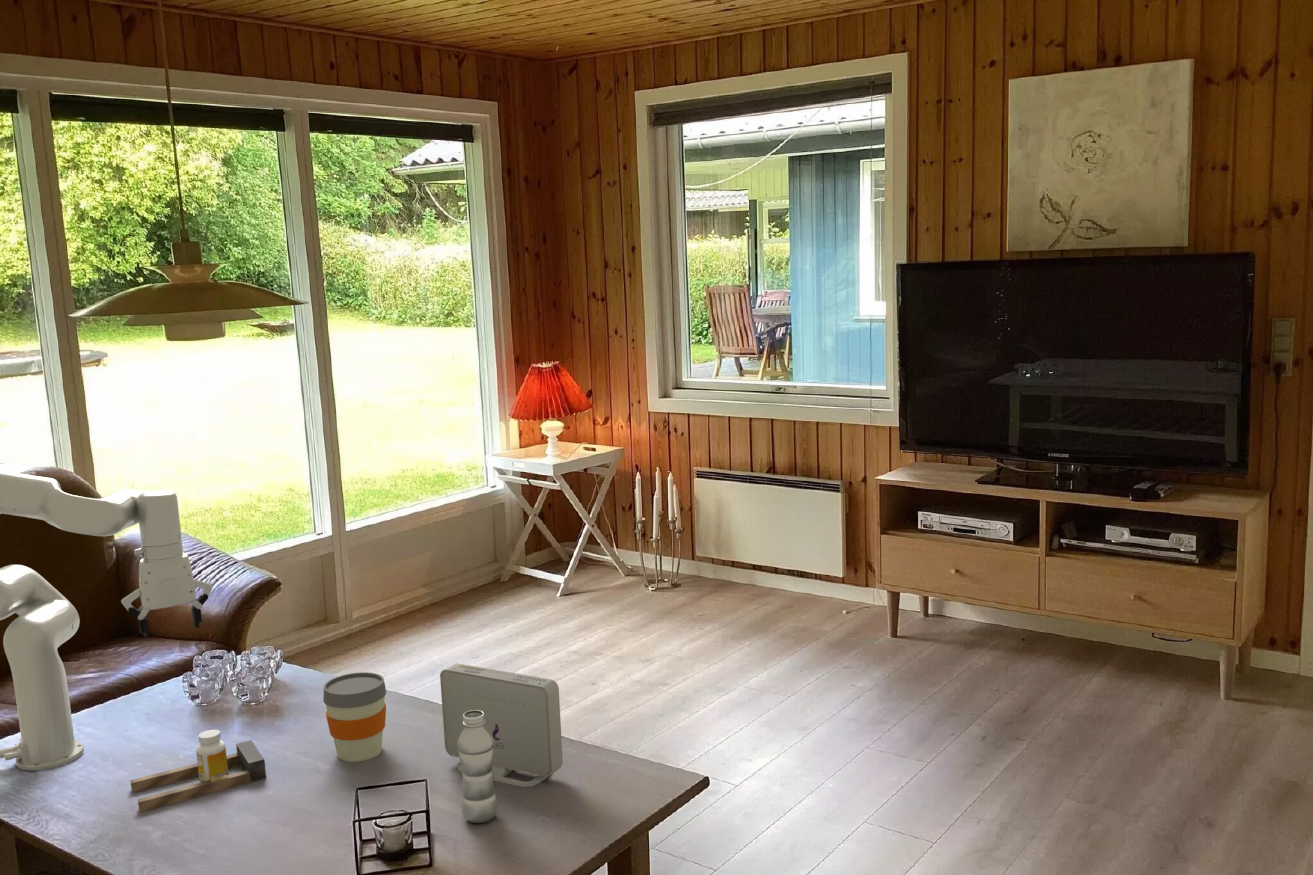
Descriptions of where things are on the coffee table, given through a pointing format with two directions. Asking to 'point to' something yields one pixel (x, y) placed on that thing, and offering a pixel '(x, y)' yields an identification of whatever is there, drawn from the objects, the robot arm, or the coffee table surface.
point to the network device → (506, 718)
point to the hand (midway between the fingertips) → (171, 631)
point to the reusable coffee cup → (356, 714)
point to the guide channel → (244, 757)
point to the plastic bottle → (477, 769)
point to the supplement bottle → (211, 755)
